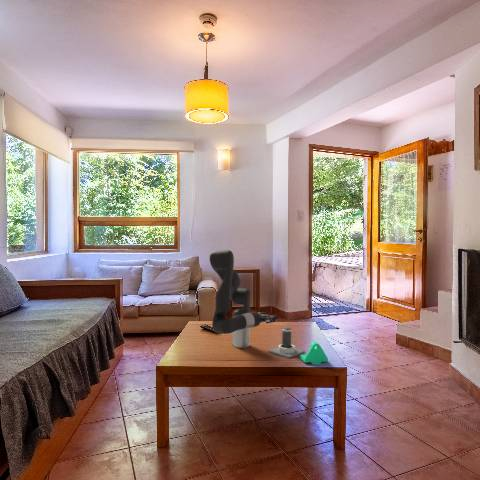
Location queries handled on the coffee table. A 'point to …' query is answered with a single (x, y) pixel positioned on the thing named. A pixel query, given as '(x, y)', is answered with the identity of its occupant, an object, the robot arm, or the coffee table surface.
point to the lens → (286, 337)
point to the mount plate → (275, 351)
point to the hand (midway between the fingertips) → (272, 315)
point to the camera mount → (314, 354)
